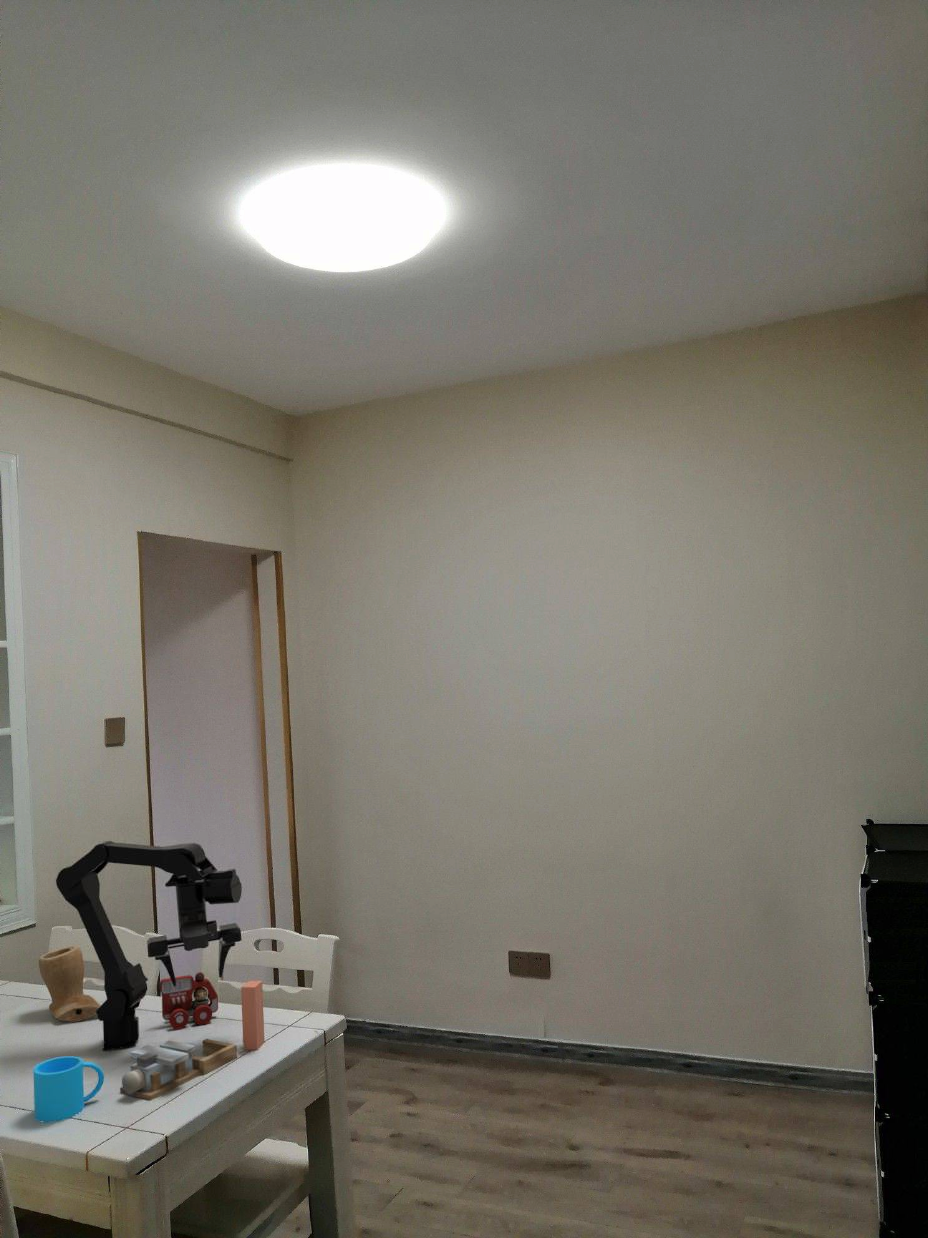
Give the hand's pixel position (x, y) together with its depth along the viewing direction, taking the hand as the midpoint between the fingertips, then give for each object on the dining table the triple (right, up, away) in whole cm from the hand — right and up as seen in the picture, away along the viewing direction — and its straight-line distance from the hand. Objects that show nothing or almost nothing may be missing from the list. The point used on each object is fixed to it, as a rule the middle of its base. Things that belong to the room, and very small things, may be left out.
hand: (197, 981), depth 207 cm
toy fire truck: (-5, -14, +13) cm, 20 cm away
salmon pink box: (+12, -12, -3) cm, 18 cm away
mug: (-15, -13, -29) cm, 35 cm away
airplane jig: (0, -12, -16) cm, 20 cm away
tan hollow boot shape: (-35, -16, +22) cm, 44 cm away
